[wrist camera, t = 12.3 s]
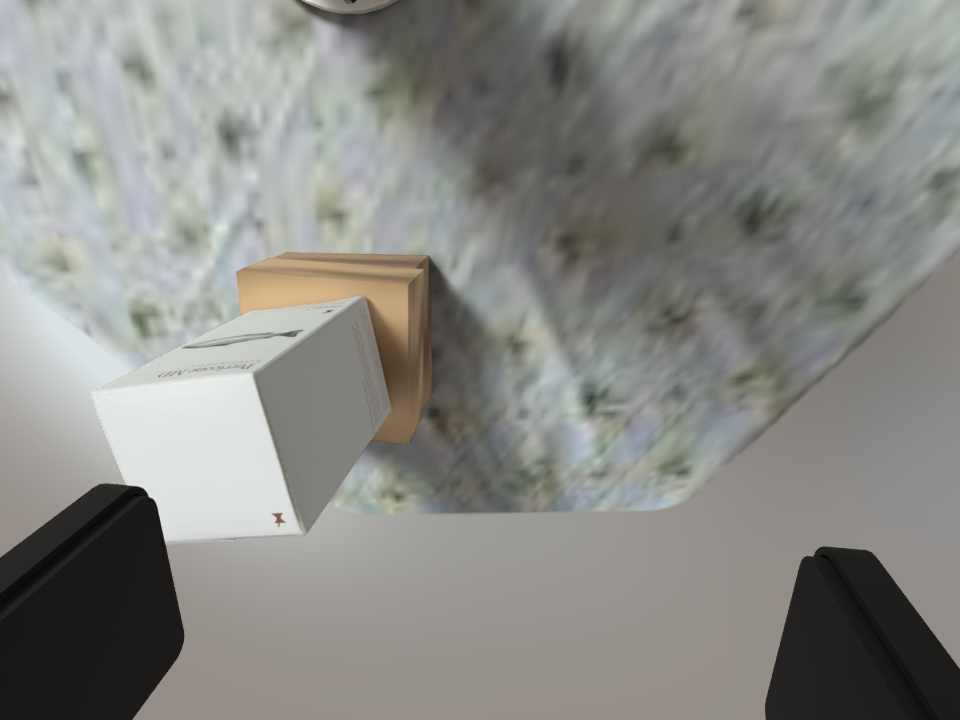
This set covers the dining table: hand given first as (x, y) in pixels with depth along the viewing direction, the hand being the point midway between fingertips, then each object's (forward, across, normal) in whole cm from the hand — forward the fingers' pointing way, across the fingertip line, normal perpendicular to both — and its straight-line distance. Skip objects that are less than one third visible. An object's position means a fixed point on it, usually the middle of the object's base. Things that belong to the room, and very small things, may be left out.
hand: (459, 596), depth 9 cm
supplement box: (+25, +12, +6) cm, 28 cm away
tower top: (+28, +12, +6) cm, 32 cm away
